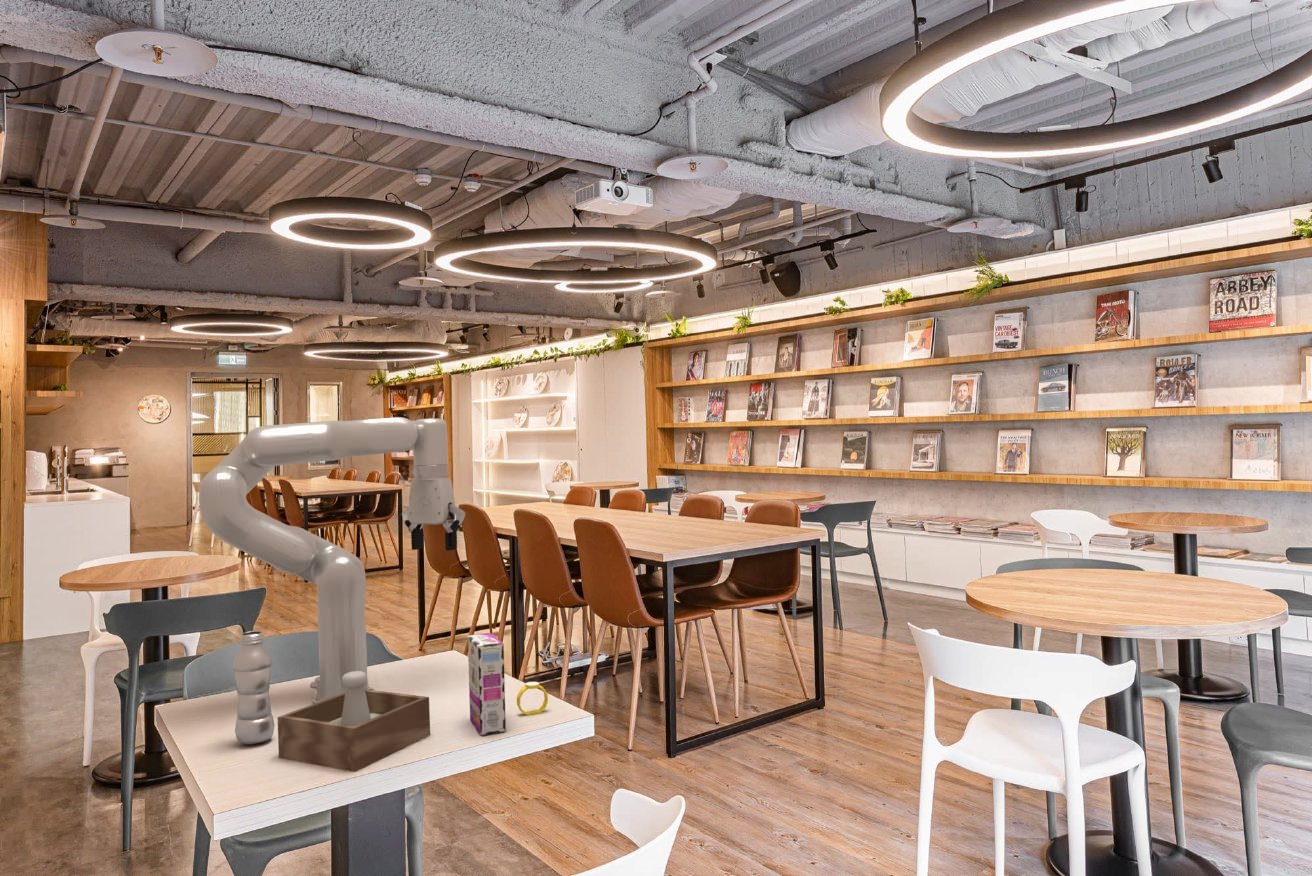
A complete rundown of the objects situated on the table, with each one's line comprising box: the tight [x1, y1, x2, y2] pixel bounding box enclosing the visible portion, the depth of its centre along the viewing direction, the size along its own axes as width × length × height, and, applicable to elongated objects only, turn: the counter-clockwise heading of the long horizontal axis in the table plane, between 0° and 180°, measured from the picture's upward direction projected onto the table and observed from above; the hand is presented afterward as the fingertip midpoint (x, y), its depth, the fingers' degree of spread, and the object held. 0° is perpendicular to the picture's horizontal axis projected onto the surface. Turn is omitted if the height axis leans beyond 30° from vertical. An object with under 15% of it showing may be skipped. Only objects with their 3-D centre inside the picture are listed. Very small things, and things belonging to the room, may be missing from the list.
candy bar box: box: [467, 632, 507, 736], centre depth 156 cm, size 11×5×16 cm, turn 23°
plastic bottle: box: [232, 630, 275, 745], centre depth 152 cm, size 6×7×20 cm
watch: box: [516, 681, 549, 716], centre depth 162 cm, size 6×3×6 cm, turn 114°
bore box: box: [277, 689, 431, 772], centre depth 147 cm, size 18×18×7 cm
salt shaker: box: [341, 671, 371, 726], centre depth 148 cm, size 6×6×13 cm
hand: (434, 549), depth 185 cm, fingers open, 9 cm apart
